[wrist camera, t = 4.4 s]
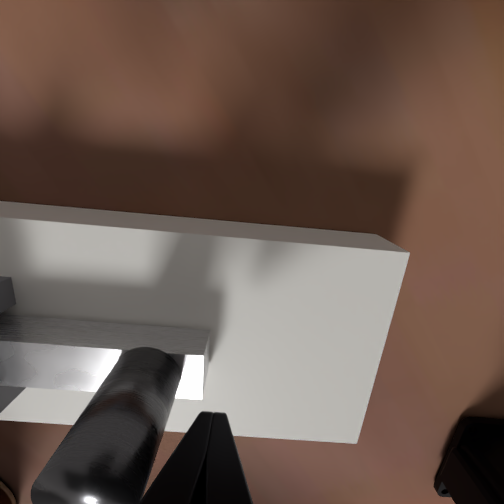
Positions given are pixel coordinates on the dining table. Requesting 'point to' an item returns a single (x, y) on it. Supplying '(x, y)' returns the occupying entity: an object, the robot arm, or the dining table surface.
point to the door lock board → (213, 309)
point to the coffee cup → (6, 495)
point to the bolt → (104, 397)
